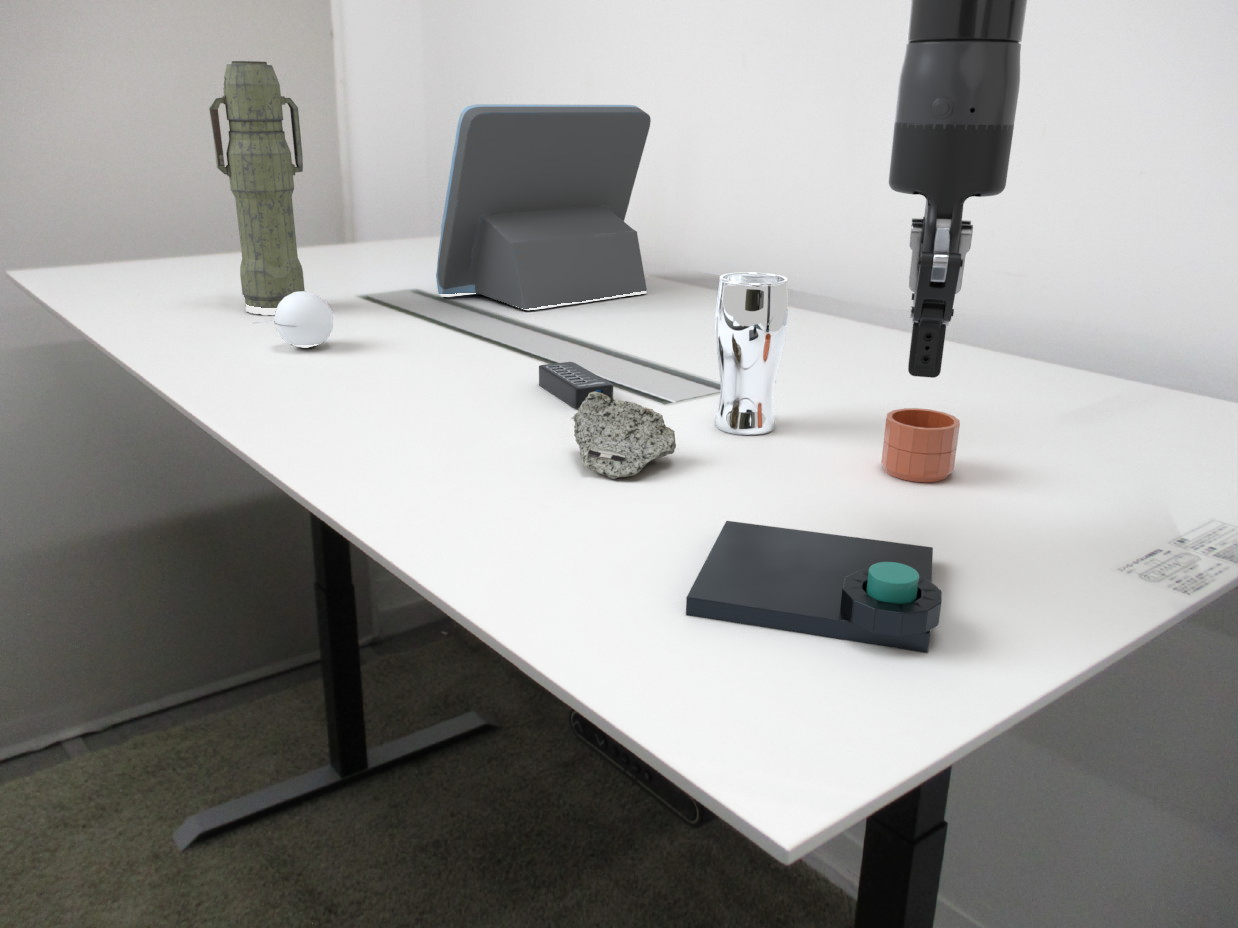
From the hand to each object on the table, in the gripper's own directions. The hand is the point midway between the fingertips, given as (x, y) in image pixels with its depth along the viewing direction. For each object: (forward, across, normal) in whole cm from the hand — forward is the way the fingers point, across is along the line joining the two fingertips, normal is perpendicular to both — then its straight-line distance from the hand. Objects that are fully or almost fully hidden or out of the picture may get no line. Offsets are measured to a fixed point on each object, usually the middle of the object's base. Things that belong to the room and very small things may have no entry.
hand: (923, 373), depth 72 cm
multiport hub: (+13, +30, +36) cm, 48 cm away
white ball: (+13, +39, +76) cm, 87 cm away
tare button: (+10, -15, +1) cm, 18 cm away
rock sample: (+13, +9, +24) cm, 29 cm away
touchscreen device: (+13, +85, +57) cm, 103 cm away
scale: (+13, -10, +6) cm, 18 cm away
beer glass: (+13, +24, +16) cm, 32 cm away
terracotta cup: (+13, +16, -1) cm, 20 cm away
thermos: (+13, +59, +93) cm, 111 cm away
